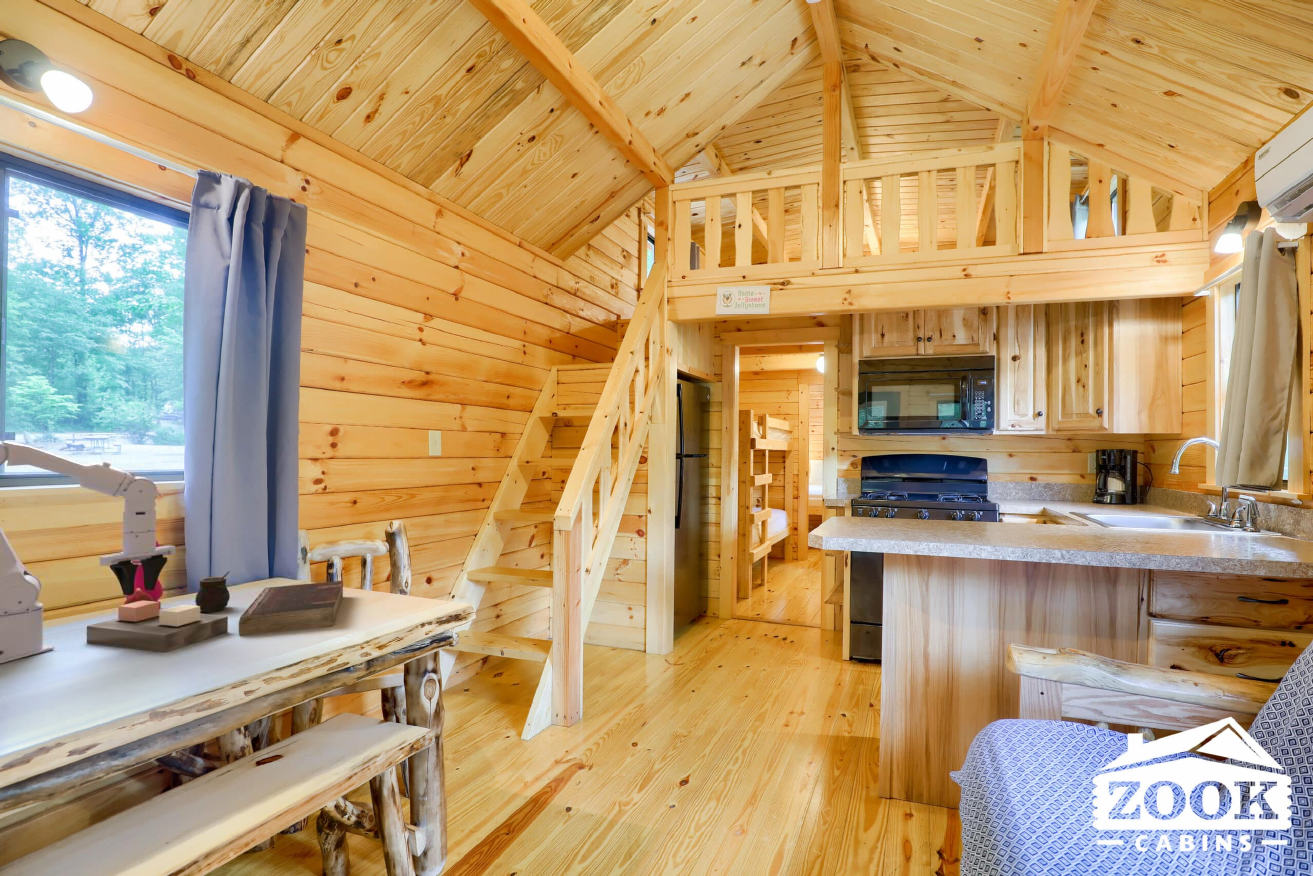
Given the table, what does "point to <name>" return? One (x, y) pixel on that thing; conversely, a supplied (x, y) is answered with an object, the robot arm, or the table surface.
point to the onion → (138, 597)
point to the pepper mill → (140, 583)
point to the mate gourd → (212, 594)
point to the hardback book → (293, 608)
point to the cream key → (179, 615)
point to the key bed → (155, 632)
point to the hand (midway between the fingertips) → (139, 592)
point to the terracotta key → (138, 611)
